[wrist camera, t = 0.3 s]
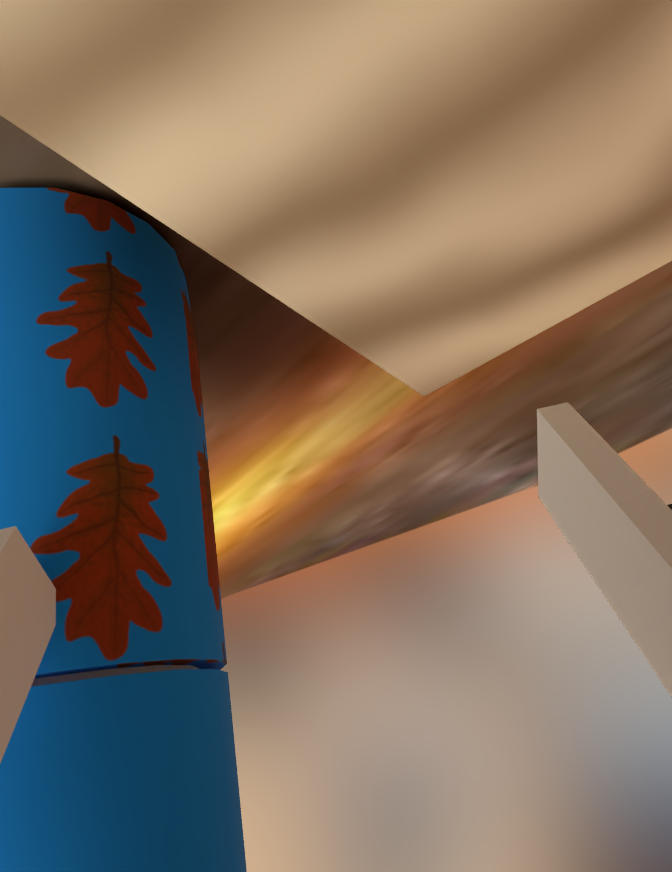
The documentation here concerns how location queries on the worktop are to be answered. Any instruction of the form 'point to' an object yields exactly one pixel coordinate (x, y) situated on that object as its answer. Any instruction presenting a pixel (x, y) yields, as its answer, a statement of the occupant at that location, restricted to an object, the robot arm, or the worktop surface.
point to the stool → (374, 151)
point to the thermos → (111, 551)
